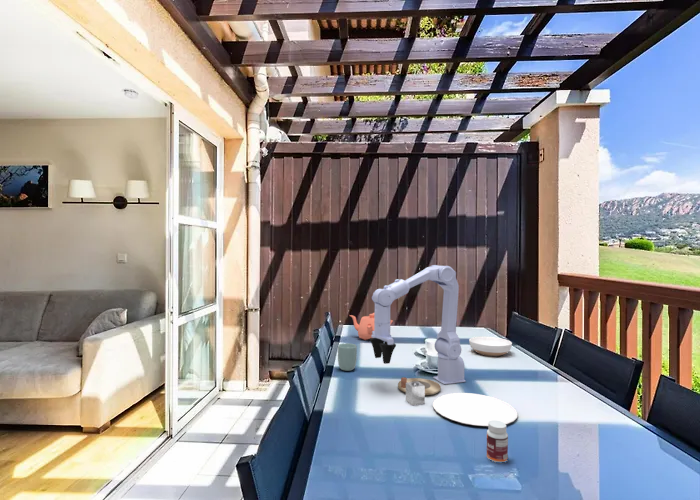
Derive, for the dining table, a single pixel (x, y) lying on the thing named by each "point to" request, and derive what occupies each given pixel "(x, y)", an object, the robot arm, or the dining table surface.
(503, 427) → the pill bottle
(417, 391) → the grey block
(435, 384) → the turntable
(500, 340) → the bowl
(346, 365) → the cup
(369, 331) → the teapot
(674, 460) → the dining table surface
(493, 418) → the plate
